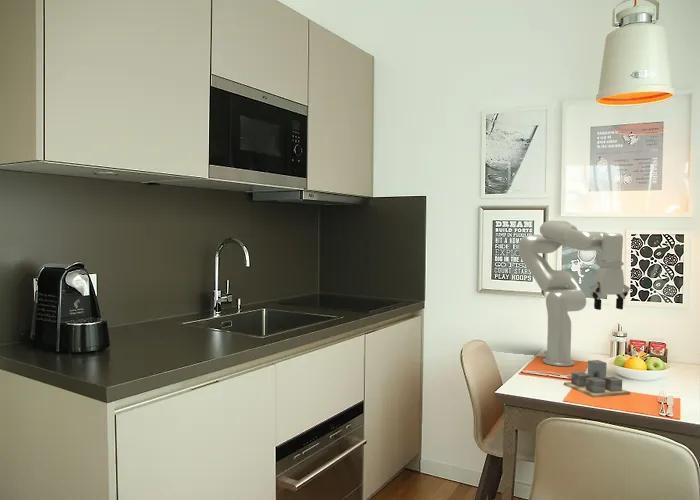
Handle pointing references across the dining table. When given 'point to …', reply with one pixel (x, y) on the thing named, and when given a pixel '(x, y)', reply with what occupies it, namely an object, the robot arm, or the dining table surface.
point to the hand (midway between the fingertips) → (608, 309)
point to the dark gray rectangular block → (597, 369)
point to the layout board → (596, 385)
